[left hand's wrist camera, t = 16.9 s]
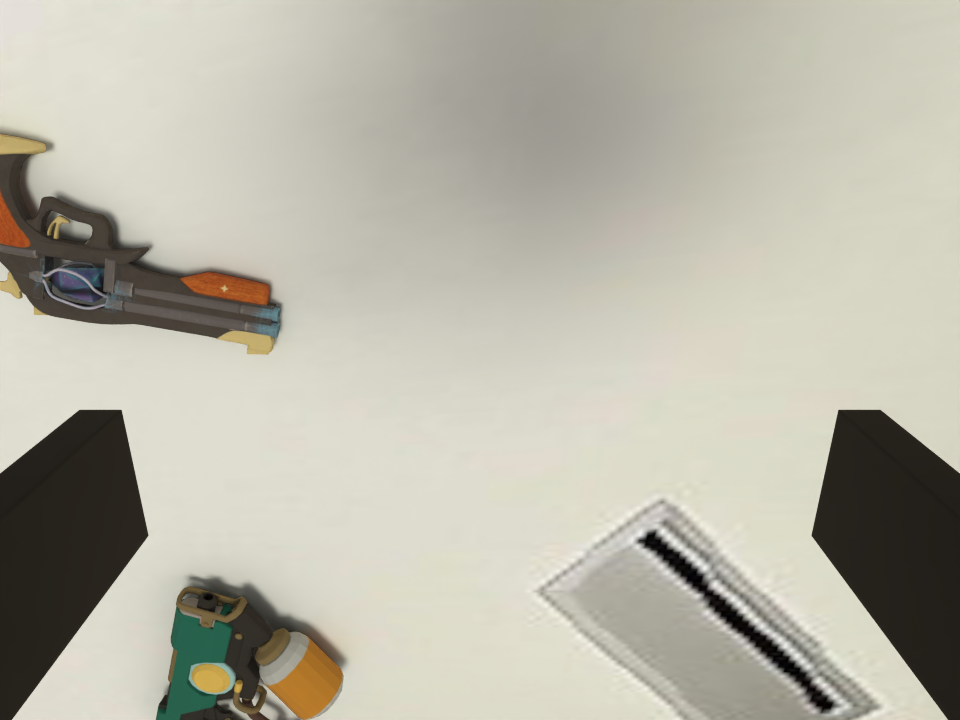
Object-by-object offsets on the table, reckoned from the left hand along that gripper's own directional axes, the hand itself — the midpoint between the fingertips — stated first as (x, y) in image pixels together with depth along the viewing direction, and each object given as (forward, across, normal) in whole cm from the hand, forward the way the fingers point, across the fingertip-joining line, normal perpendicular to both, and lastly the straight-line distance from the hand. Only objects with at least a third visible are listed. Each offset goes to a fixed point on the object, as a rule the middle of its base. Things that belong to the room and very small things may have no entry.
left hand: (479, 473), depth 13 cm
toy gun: (+29, -21, -2) cm, 36 cm away
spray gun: (+29, -18, -36) cm, 50 cm away
